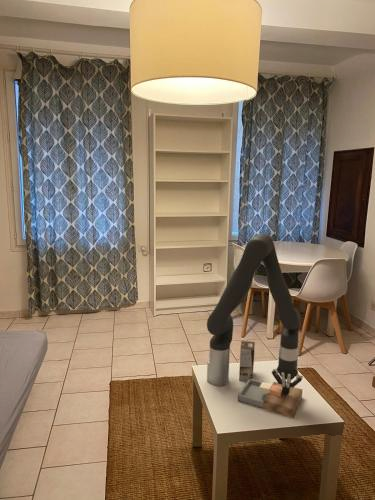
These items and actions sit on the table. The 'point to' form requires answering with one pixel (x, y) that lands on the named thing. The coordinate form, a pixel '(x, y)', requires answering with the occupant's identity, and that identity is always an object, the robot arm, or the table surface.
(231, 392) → the table surface
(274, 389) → the tile
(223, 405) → the table surface
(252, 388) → the bin
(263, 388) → the tile
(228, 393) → the table surface
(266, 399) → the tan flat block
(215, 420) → the table surface
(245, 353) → the coffee box
